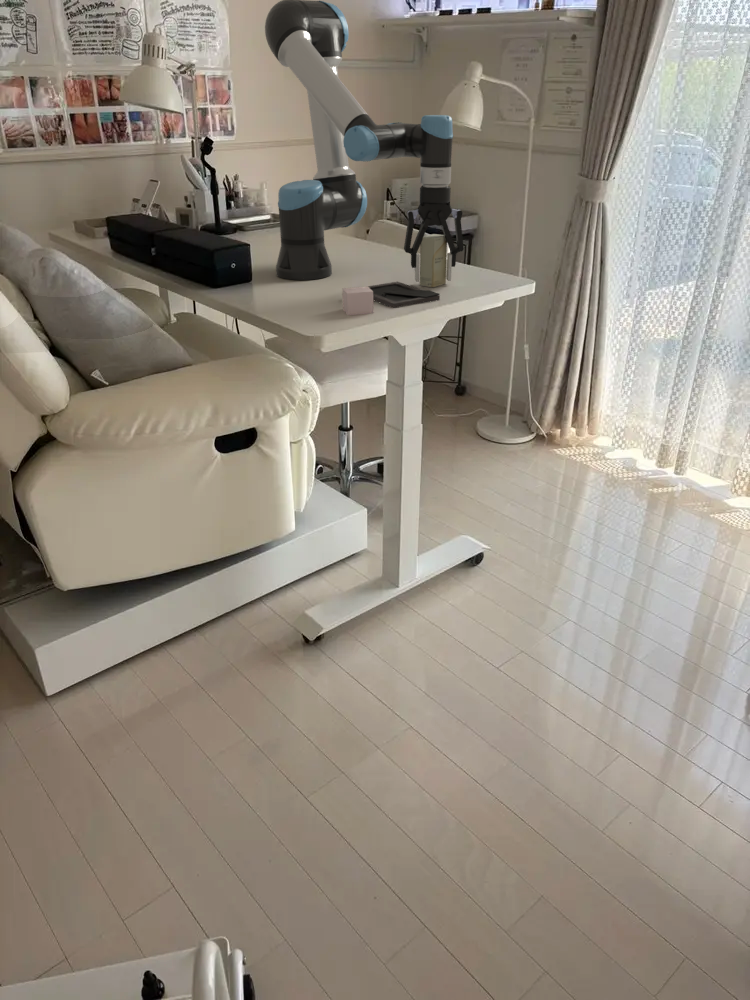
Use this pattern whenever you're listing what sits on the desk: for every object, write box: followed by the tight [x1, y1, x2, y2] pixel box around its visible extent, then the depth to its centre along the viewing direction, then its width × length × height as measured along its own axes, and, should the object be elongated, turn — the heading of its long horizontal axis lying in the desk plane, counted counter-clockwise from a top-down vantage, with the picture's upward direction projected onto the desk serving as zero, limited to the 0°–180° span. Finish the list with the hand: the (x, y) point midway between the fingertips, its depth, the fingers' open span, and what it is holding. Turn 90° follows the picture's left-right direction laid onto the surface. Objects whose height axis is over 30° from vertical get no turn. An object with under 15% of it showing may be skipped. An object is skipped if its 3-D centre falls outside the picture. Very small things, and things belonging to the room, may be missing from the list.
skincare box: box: [419, 233, 448, 288], centre depth 201 cm, size 6×4×12 cm
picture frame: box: [365, 281, 441, 309], centre depth 193 cm, size 13×2×18 cm
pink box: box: [341, 285, 374, 316], centre depth 180 cm, size 6×5×5 cm
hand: (432, 279), depth 203 cm, fingers open, 8 cm apart
